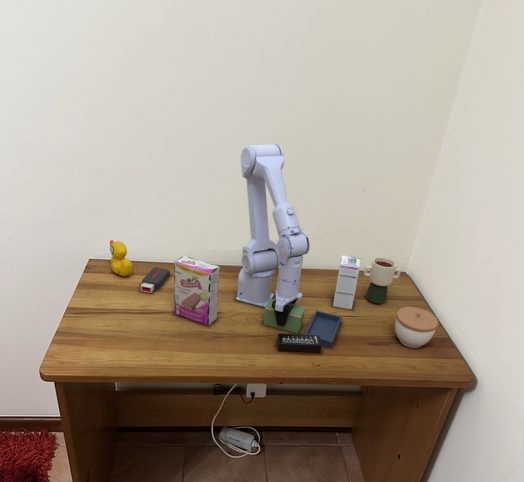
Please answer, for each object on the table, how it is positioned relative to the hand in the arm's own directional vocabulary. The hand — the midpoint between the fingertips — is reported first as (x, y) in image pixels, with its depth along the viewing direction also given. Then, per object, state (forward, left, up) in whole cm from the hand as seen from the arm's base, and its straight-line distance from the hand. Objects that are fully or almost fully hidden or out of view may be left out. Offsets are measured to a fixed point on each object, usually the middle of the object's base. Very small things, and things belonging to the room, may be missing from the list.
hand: (283, 320), depth 134 cm
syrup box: (+13, +19, -2) cm, 23 cm away
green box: (0, 0, -1) cm, 1 cm away
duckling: (-54, +5, -2) cm, 54 cm away
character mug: (+22, +26, -2) cm, 34 cm away
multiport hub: (+7, -8, -1) cm, 11 cm away
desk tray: (+11, +2, -1) cm, 11 cm away
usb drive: (-42, +4, -2) cm, 42 cm away
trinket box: (+34, +8, -2) cm, 35 cm away
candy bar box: (-23, -7, -2) cm, 24 cm away
